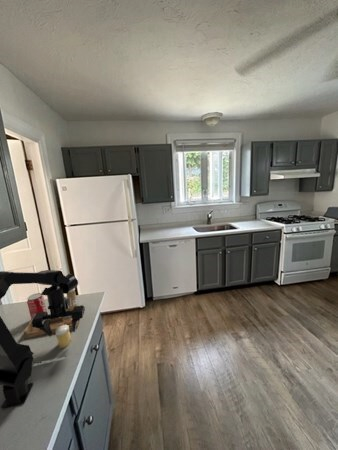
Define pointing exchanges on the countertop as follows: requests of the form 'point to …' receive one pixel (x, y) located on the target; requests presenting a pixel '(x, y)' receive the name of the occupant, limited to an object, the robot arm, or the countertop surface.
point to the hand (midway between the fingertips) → (62, 333)
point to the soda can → (36, 304)
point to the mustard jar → (63, 336)
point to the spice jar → (67, 320)
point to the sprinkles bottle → (72, 299)
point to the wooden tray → (35, 332)
